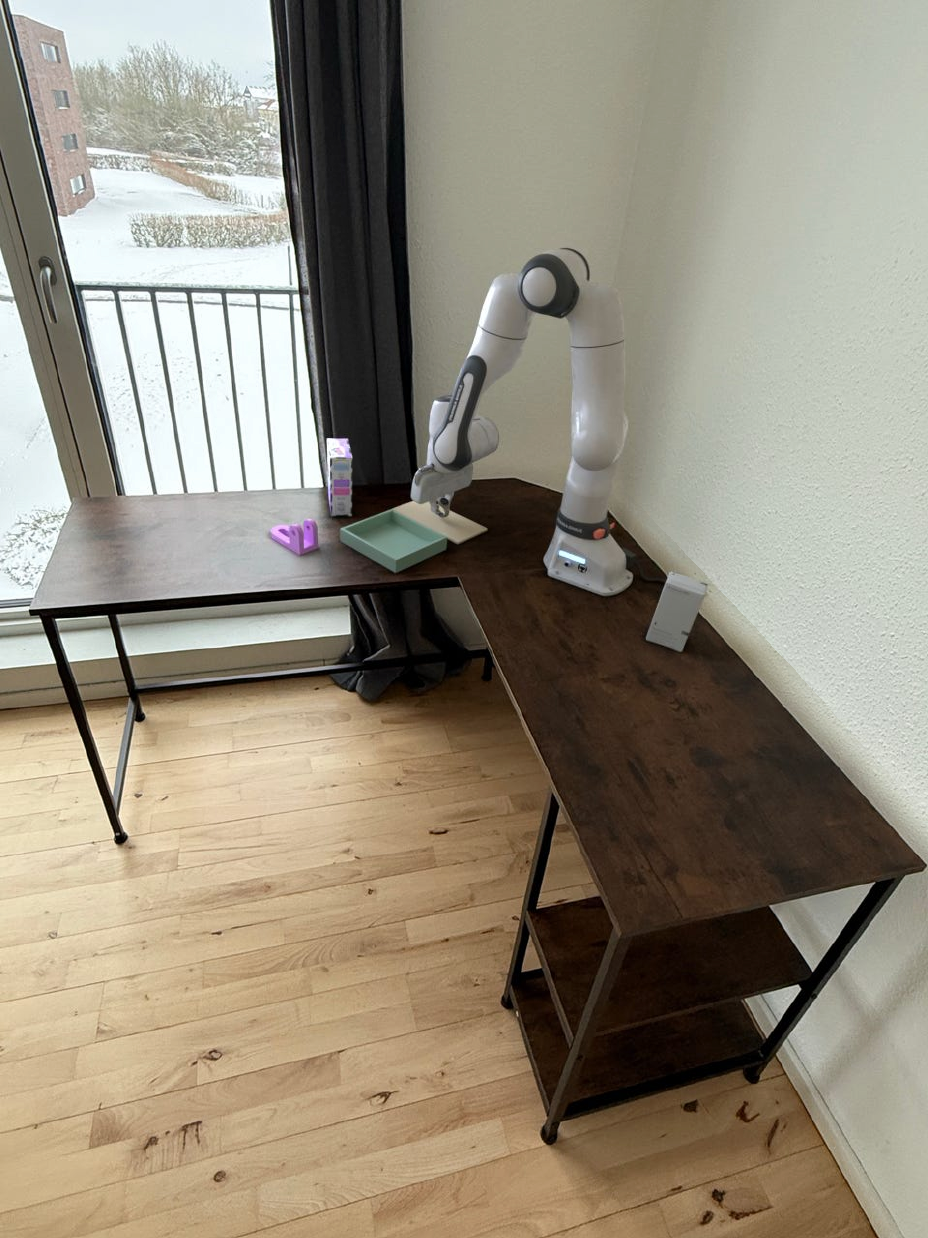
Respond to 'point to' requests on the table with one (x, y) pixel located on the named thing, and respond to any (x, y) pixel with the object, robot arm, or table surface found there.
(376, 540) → the tray
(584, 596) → the table surface
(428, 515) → the mat
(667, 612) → the cosmetic box
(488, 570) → the table surface
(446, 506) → the wristwatch
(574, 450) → the robot arm
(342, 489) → the candy box
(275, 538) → the bracket
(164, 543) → the table surface
